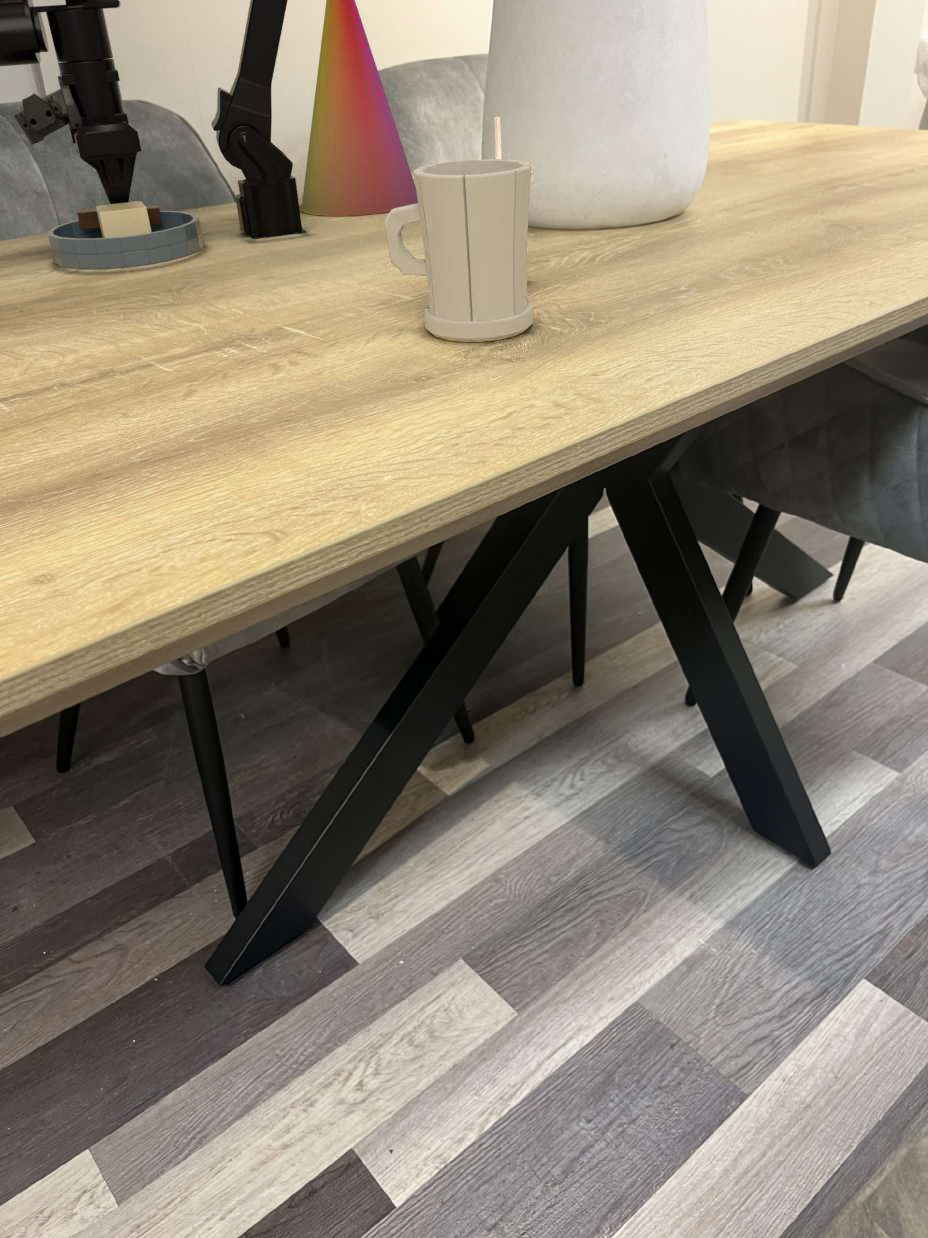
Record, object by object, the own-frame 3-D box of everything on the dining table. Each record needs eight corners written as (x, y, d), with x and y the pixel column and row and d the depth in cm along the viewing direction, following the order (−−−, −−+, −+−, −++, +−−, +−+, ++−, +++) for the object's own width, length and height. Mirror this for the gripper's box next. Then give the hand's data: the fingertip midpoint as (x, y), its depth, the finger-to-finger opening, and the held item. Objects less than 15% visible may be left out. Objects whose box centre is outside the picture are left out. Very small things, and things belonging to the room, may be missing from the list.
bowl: (192, 236, 121) (186, 205, 119) (214, 260, 108) (208, 226, 106) (53, 253, 116) (45, 221, 114) (59, 280, 103) (50, 245, 102)
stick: (160, 220, 116) (157, 204, 115) (161, 223, 115) (159, 207, 114) (79, 226, 113) (76, 209, 112) (80, 229, 112) (77, 212, 111)
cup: (436, 354, 75) (424, 182, 68) (387, 327, 82) (373, 169, 75) (554, 330, 79) (553, 165, 72) (498, 306, 86) (493, 154, 79)
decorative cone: (276, 209, 134) (238, -59, 118) (361, 191, 144) (337, -59, 128) (359, 219, 125) (330, -71, 109) (444, 198, 135) (428, -70, 119)
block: (151, 246, 114) (141, 200, 111) (156, 254, 110) (146, 206, 107) (106, 252, 112) (95, 205, 110) (109, 260, 108) (98, 212, 106)
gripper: (6, 63, 111) (44, 212, 119) (5, 69, 96) (49, 239, 104) (108, 56, 114) (139, 201, 122) (123, 60, 99) (157, 226, 107)
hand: (120, 216), depth 114 cm, fingers closed on stick, 2 cm apart
